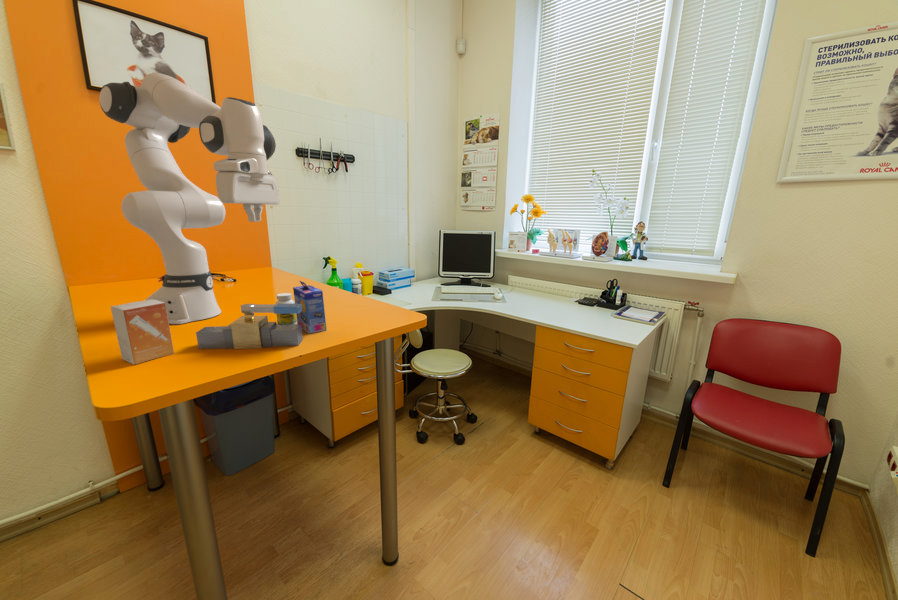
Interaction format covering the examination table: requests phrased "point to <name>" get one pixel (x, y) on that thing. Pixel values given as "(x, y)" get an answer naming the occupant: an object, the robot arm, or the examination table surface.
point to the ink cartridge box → (310, 308)
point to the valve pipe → (249, 334)
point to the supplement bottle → (285, 318)
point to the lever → (272, 308)
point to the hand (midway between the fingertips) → (255, 221)
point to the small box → (142, 330)
